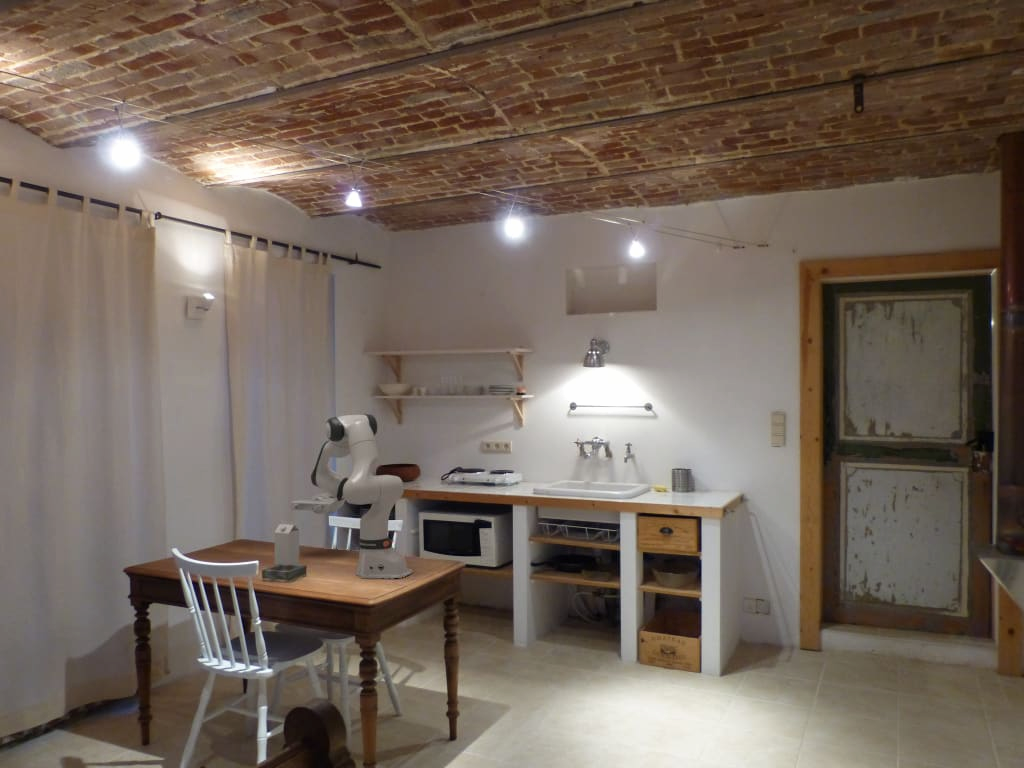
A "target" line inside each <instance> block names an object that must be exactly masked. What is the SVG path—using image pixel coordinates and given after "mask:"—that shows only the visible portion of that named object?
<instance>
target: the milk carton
mask: <svg viewBox="0 0 1024 768" xmlns="http://www.w3.org/2000/svg"><path fill="white" fill-rule="evenodd" d="M278 564H290V565H300V530H299V528H298V527H297V526H296V525H295V522H294V521H285V520H284V521H282V520H281V521H279V525H278V526H277V528H276V530H275V531H274V566H276V565H278Z"/></svg>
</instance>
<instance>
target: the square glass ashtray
mask: <svg viewBox="0 0 1024 768" xmlns="http://www.w3.org/2000/svg"><path fill="white" fill-rule="evenodd" d="M305 575H306V576H307V565H306V564H304V565H303V564H302V565H301V564H299V565H290V564H278V565H276V566H275V565H273V566H271V567H270V566H269V567H268V568H265V569H262V570H261V581H262V580H269V581H268V582H273V581H284V582H283V583H286V582H290V581H292V582H294V581H293V580H295V581H297V580H299V579H298V578H300V577H302V578H304V577H303V576H305ZM306 576H305V577H306ZM296 579H297V580H296ZM300 579H301V578H300ZM290 583H291V582H290Z"/></svg>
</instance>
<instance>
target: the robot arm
mask: <svg viewBox="0 0 1024 768" xmlns="http://www.w3.org/2000/svg"><path fill="white" fill-rule="evenodd" d="M324 428H325V434H326V438H327V439H328V440H327V441H325V442H324V443H323V444H322V446H321V448H320V451H319V454H318V455H317V456H318V457H317V459H316V463H315V464H314V465H315V466H314V468H313V470H312V472H311V475H310V481H311V483H312V485H313V486H314V487H317V488H319V489H322V490H323V491H325V492H322V493H319V494H315V495H314V496H312V498H311V499H298V500H292V501H291V502H290V509H291V510H293V511H311V512H313V513H314V514H316V515H323V514H327V513H337V512H338V510H339V509H340V508H341V507H342V506H343V505H344V504H345V502H347V503H348V504H352V505H361V506H362V505H368V504H369V505H371V507H370V508H369V510H368V511H367V512H366V513H364V514H363V515H362V516H361V517H360V519H359V539H358V551H359V553H358V554H359V556H358V563H357V568H356V571H355V574H356V575H357V576H358V577H360V578H361V579H382V578H384V580H385V579H387V580H388V579H389V578H390V579H391V580H392V579H393V580H395V579H394V578H399V579H403V578H406V577H408V576H407V575H409V574H410V575H412V574H413V573H412V572H413V569H412V568H408V565H407V560H406V557H405V556H404V555H403V554H401V553H400V552H399V551H397V550H396V549H395V547H393V543H394V540H395V539H390V537H389V519H390V518H389V517H390V514H391V512H392V510H393V507H394V506H395V504H396V502H398V501H399V500H400V498H402V496H403V494H404V491H405V486H404V481H403V480H402V478H401V477H400V476H397V475H393V474H392V475H391V474H382V475H373V471H372V470H374V469H375V468H376V467H377V466H378V465H379V463H380V461H381V456H380V453H379V452H380V451H379V448H378V444H377V441H376V435H377V433H378V422H377V418H376V417H375V416H373V414H369V413H365V414H346V415H340V416H334V417H331V418H328V420H327V421H326V422H325V427H324ZM349 455H350V457H351V462H352V472H351V475H350V477H349V478H348V477H346V476H345V475H343V474H341V473H339V472H337V471H335V470H333V469H331V468H330V467H329V462H330V457H331V458H336V459H340V458H346V457H349ZM411 573H412V574H411ZM410 575H409V576H410ZM405 576H406V577H405ZM402 577H403V578H402Z"/></svg>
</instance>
